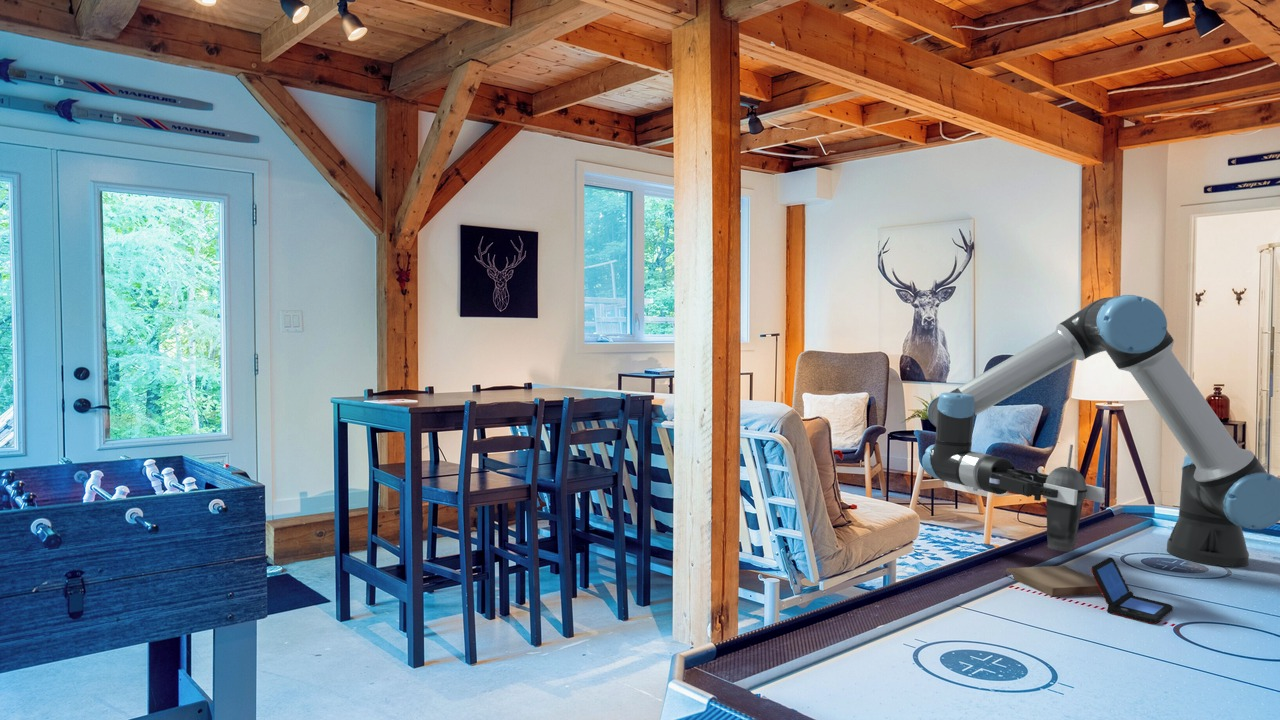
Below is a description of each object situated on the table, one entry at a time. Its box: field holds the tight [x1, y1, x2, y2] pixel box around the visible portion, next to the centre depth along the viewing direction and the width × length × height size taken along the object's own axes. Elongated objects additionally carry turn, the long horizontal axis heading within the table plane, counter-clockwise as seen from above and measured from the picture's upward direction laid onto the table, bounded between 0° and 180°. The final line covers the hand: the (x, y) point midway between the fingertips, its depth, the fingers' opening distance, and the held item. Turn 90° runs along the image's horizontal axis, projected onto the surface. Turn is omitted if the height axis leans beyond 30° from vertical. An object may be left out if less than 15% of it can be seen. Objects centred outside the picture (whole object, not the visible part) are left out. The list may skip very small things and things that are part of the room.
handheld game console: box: [1090, 556, 1174, 625], centre depth 148 cm, size 12×11×7 cm
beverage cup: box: [1046, 444, 1087, 552], centre depth 160 cm, size 7×7×20 cm
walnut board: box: [1005, 565, 1102, 597], centre depth 161 cm, size 14×12×2 cm
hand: (1089, 496), depth 155 cm, fingers closed on beverage cup, 7 cm apart
